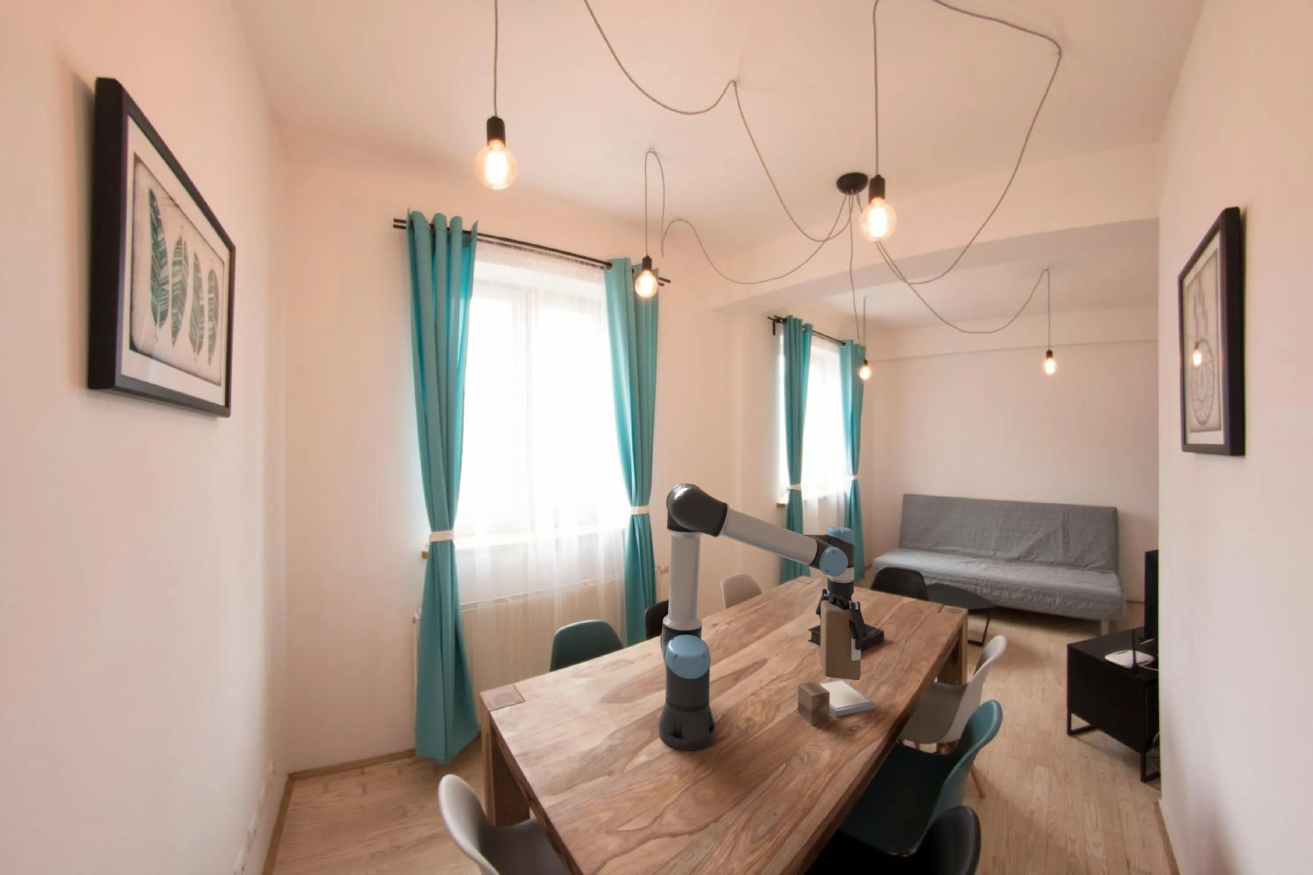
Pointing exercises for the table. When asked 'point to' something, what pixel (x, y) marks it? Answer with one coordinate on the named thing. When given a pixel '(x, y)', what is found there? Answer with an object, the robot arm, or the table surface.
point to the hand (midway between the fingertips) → (839, 649)
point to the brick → (813, 702)
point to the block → (837, 643)
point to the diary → (873, 638)
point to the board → (846, 698)
